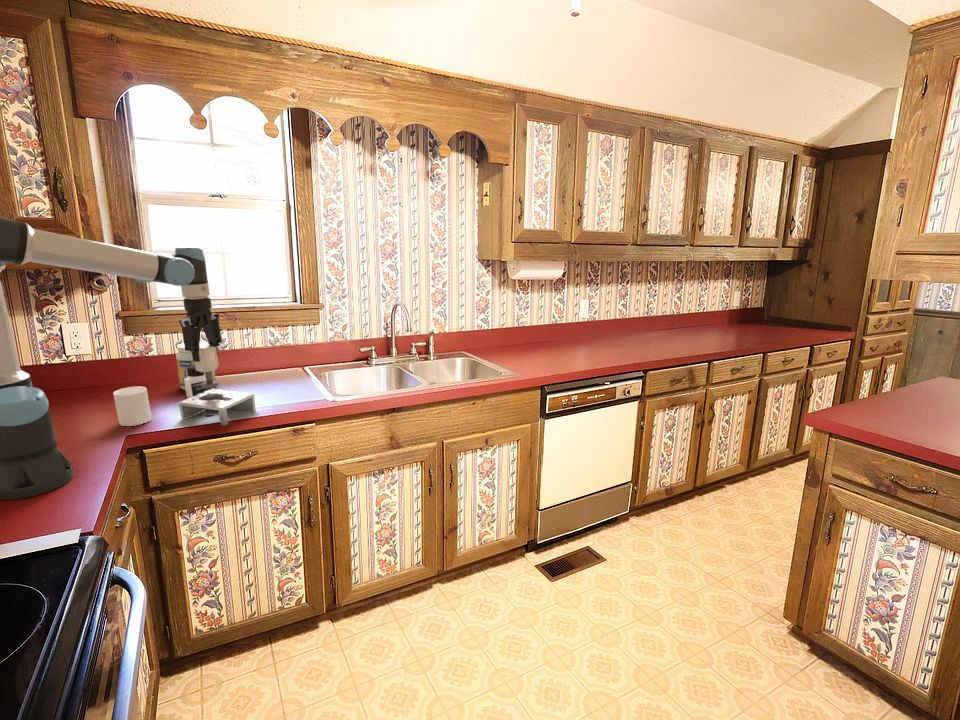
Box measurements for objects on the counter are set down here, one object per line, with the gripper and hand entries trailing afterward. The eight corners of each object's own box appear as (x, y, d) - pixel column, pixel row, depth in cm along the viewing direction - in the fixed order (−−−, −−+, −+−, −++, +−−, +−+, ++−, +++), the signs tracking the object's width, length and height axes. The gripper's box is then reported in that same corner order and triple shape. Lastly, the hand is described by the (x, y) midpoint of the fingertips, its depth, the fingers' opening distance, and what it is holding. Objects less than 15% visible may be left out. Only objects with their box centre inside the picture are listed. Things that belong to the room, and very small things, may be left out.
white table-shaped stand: (224, 425, 156) (222, 407, 155) (181, 419, 161) (178, 402, 159) (255, 410, 169) (253, 393, 168) (214, 404, 174) (212, 388, 172)
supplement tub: (180, 393, 185) (173, 349, 180) (181, 384, 195) (174, 342, 190) (217, 388, 190) (211, 346, 186) (215, 380, 201) (210, 339, 196)
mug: (152, 412, 167) (146, 381, 164) (152, 424, 157) (146, 392, 154) (120, 417, 162) (114, 386, 159) (118, 429, 153) (112, 397, 150)
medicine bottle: (193, 401, 177) (188, 369, 173) (186, 397, 181) (181, 365, 178) (214, 397, 182) (210, 365, 178) (207, 392, 186) (202, 361, 183)
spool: (210, 389, 160) (204, 350, 157) (197, 388, 162) (191, 348, 158) (222, 384, 165) (217, 346, 162) (210, 383, 167) (204, 345, 163)
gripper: (182, 302, 146) (194, 377, 152) (228, 293, 163) (237, 361, 169) (161, 301, 148) (174, 375, 154) (209, 292, 165) (219, 359, 171)
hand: (207, 368), depth 162 cm, fingers closed on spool, 5 cm apart
